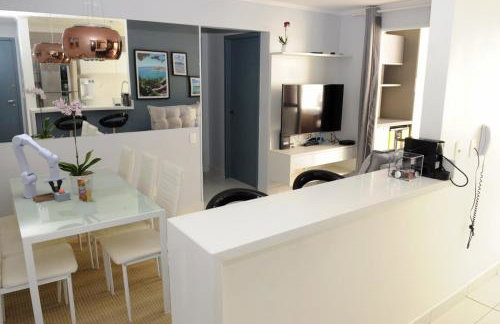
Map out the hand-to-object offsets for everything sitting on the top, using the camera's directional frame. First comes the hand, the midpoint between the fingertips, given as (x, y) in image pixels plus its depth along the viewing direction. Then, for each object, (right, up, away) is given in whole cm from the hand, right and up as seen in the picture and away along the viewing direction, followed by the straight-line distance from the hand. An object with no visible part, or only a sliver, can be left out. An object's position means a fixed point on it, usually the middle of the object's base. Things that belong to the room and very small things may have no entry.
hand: (56, 190), depth 275 cm
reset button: (+6, -2, -5) cm, 9 cm away
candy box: (+22, -6, -4) cm, 24 cm away
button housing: (+6, -6, -4) cm, 10 cm away
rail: (-3, -5, -2) cm, 7 cm away
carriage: (0, -3, +1) cm, 3 cm away
